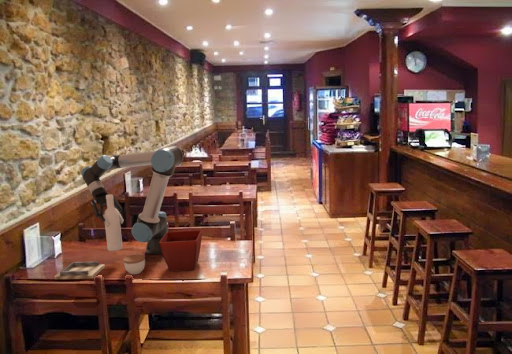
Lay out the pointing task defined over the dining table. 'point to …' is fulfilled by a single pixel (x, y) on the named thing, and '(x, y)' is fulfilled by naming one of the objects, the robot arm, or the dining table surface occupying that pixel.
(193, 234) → the plant pot
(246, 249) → the dining table surface
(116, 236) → the bottle
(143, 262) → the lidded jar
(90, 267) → the shallow rectangular tray
